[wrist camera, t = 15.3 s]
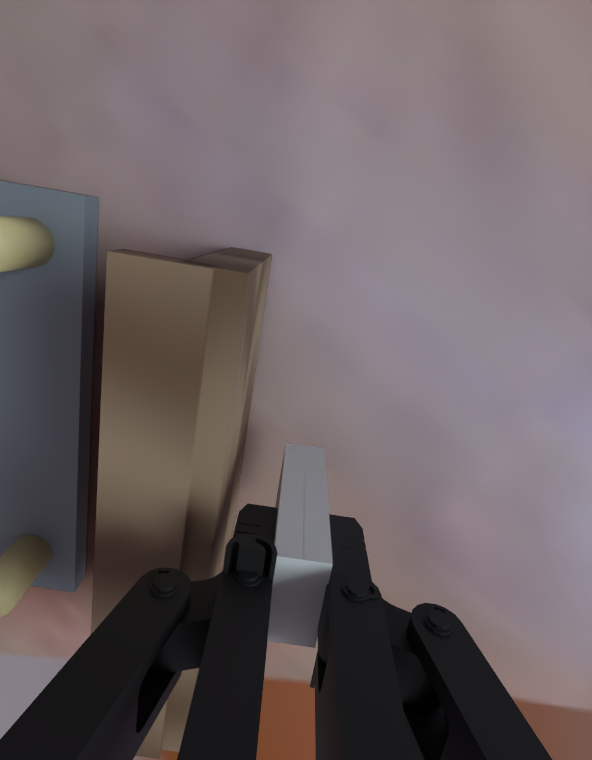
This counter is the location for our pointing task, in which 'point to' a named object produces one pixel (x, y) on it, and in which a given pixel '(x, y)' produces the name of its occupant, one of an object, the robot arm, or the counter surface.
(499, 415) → the counter surface
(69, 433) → the base
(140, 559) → the panel
